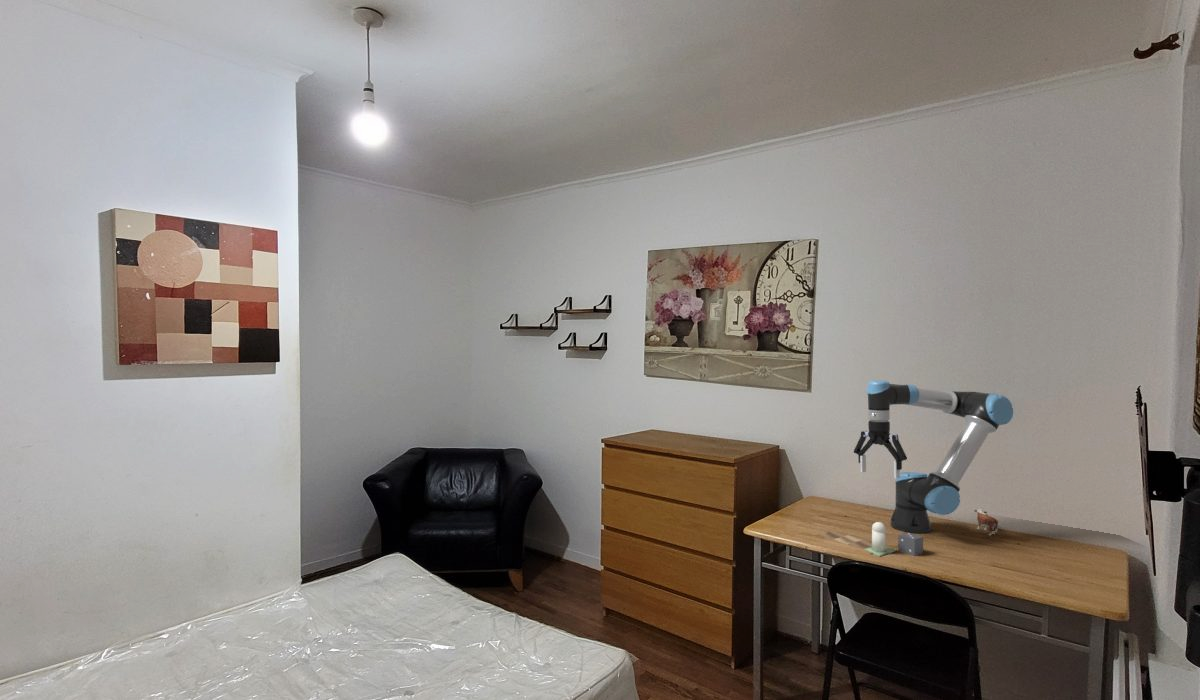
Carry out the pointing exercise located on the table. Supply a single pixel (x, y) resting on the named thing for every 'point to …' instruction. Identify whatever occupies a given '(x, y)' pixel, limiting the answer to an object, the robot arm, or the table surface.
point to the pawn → (878, 537)
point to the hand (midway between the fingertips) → (879, 474)
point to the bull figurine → (986, 521)
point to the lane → (855, 542)
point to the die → (910, 544)
